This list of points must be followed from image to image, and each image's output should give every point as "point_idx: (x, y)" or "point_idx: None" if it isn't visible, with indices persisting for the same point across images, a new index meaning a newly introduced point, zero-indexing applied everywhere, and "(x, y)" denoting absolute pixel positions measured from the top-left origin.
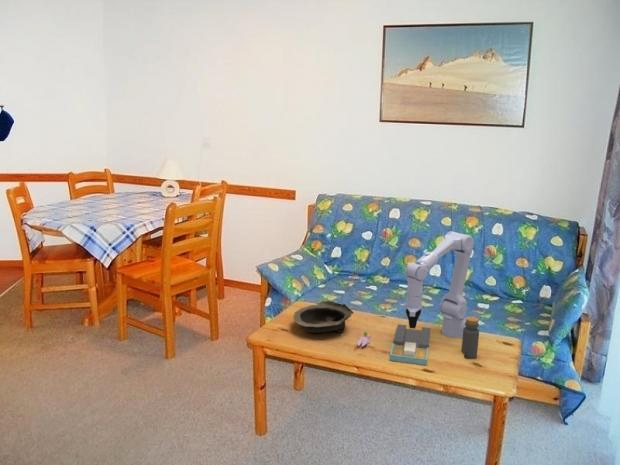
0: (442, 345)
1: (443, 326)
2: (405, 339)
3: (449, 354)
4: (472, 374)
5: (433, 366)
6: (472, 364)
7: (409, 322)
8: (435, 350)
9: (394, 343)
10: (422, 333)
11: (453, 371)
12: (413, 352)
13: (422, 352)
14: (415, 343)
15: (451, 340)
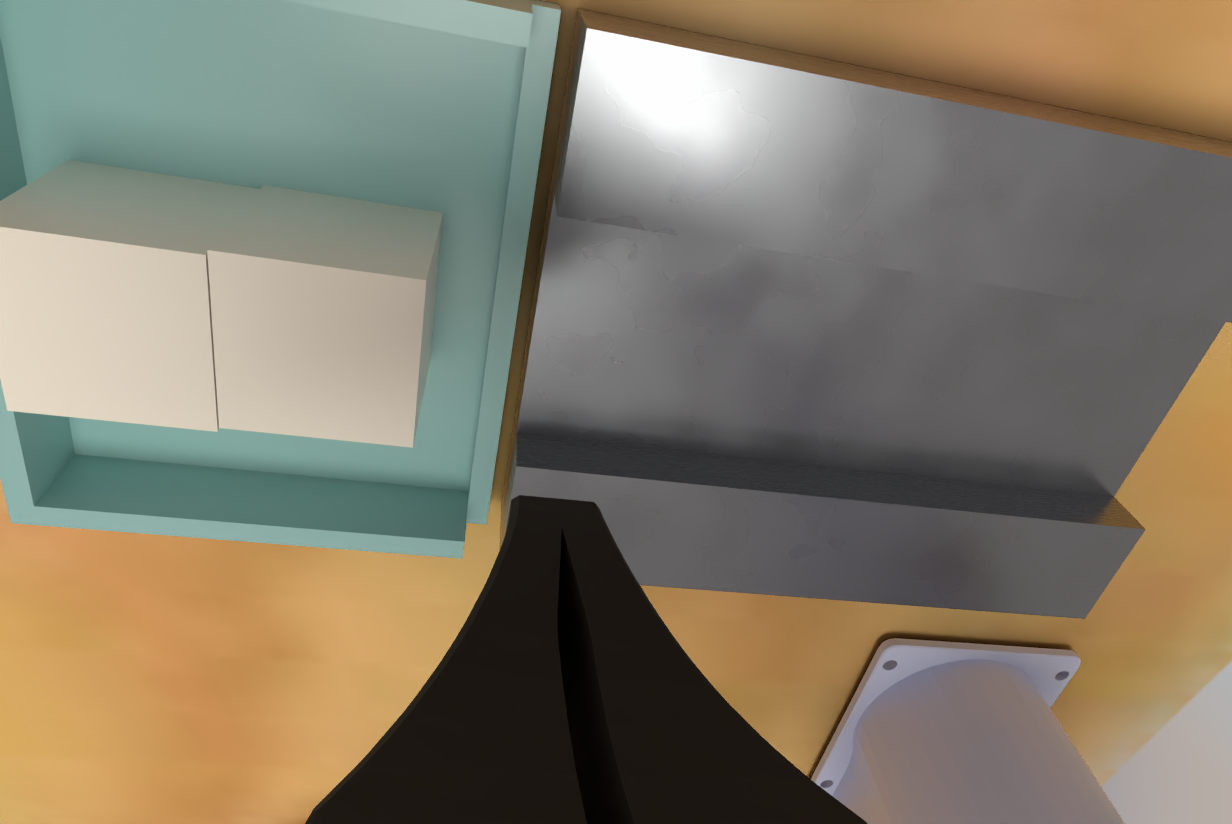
0: (728, 640)
1: (996, 775)
2: (813, 262)
3: None
4: (69, 808)
5: (88, 530)
6: (306, 817)
7: (487, 594)
8: None
9: (517, 44)
10: (917, 523)
11: (53, 690)
12: (15, 380)
13: None
14: (392, 438)
15: None
